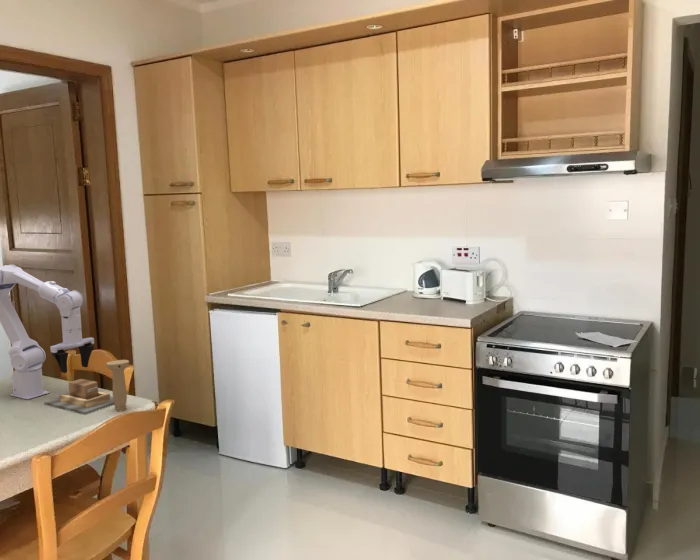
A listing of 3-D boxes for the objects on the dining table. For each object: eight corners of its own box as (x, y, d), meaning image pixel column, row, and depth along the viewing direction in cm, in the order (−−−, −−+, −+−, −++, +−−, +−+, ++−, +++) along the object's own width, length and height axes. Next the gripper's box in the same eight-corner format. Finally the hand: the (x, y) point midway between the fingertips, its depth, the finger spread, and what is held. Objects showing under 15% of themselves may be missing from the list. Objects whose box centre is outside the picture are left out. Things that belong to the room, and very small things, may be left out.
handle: (108, 409, 189) (105, 362, 187) (129, 405, 192) (126, 359, 190) (111, 414, 185) (108, 365, 183) (133, 410, 188) (130, 362, 186)
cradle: (44, 404, 195) (43, 395, 194) (83, 392, 207) (82, 384, 206) (85, 414, 185) (84, 405, 184) (123, 401, 197) (122, 392, 196)
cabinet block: (69, 400, 196) (68, 382, 195) (82, 396, 200) (81, 378, 199) (87, 404, 191) (86, 386, 190) (100, 400, 195) (98, 382, 194)
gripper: (59, 334, 191) (62, 376, 192) (99, 325, 203) (101, 365, 205) (45, 332, 194) (48, 373, 196) (85, 323, 206) (87, 363, 208)
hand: (74, 369), depth 201 cm, fingers open, 7 cm apart
